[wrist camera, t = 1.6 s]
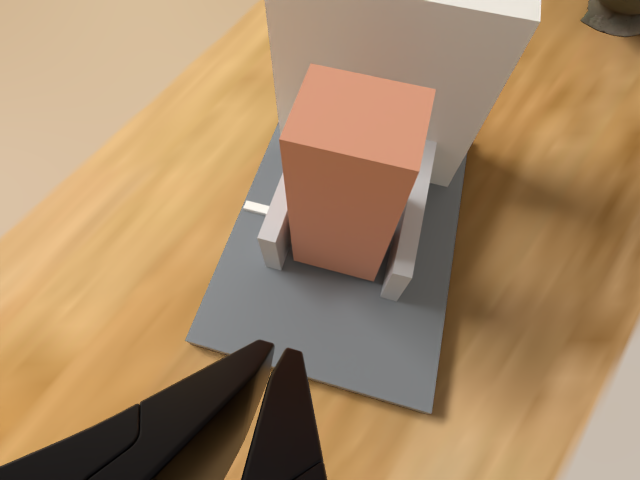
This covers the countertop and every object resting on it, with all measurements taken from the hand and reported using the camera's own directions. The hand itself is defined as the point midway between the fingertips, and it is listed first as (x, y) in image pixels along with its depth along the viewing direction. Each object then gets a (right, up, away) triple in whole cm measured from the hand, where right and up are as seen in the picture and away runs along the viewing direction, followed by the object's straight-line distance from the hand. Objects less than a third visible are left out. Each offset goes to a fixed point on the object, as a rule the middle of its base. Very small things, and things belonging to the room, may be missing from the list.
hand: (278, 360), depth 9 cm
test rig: (+3, +4, +17) cm, 17 cm away
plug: (+2, +3, +15) cm, 15 cm away
